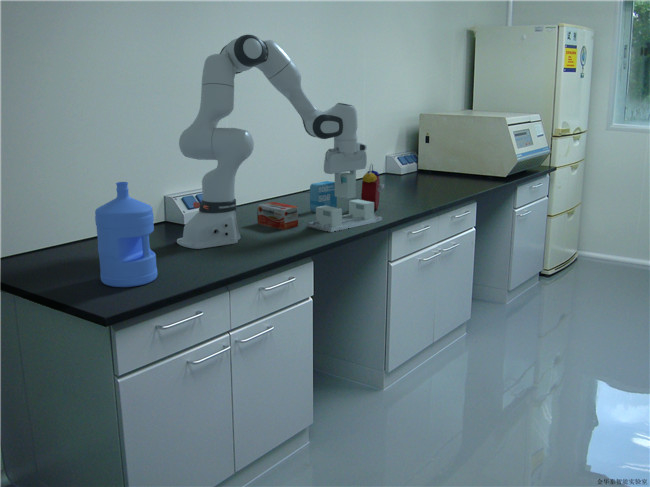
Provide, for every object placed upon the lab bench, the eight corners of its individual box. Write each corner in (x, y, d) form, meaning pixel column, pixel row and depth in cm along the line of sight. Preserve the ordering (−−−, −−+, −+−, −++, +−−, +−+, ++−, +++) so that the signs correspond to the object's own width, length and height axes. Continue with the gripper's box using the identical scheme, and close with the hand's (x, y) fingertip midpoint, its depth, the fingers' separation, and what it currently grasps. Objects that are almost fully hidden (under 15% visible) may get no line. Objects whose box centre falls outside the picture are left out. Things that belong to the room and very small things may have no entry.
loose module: (347, 198, 251) (347, 175, 249) (334, 196, 256) (334, 173, 253) (355, 197, 254) (356, 173, 252) (342, 194, 259) (342, 172, 257)
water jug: (89, 284, 185) (79, 185, 177) (124, 269, 199) (116, 177, 192) (135, 291, 179) (127, 189, 172) (168, 274, 193) (162, 180, 186)
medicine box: (257, 224, 257) (256, 204, 255) (272, 220, 263) (272, 201, 261) (284, 230, 247) (283, 209, 245) (299, 226, 253) (299, 206, 251)
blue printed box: (317, 213, 276) (317, 185, 273) (309, 211, 279) (309, 183, 276) (337, 209, 284) (337, 181, 281) (329, 207, 287) (329, 180, 284)
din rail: (331, 232, 243) (331, 226, 243) (307, 226, 252) (307, 221, 252) (381, 220, 262) (381, 215, 261) (358, 215, 271) (358, 210, 271)
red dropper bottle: (365, 206, 290) (366, 160, 285) (385, 207, 288) (386, 161, 283) (360, 213, 276) (361, 165, 271) (381, 214, 274) (382, 166, 269)
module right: (365, 219, 258) (365, 204, 256) (348, 215, 264) (348, 200, 263) (374, 217, 261) (374, 202, 260) (357, 213, 268) (357, 199, 266)
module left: (332, 226, 246) (332, 210, 244) (315, 222, 252) (315, 207, 251) (341, 224, 249) (342, 208, 248) (325, 220, 256) (325, 205, 254)
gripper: (331, 150, 241) (331, 187, 244) (369, 145, 254) (368, 180, 258) (319, 148, 245) (320, 185, 249) (357, 144, 259) (357, 178, 262)
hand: (345, 183), depth 254 cm, fingers closed on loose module, 5 cm apart
